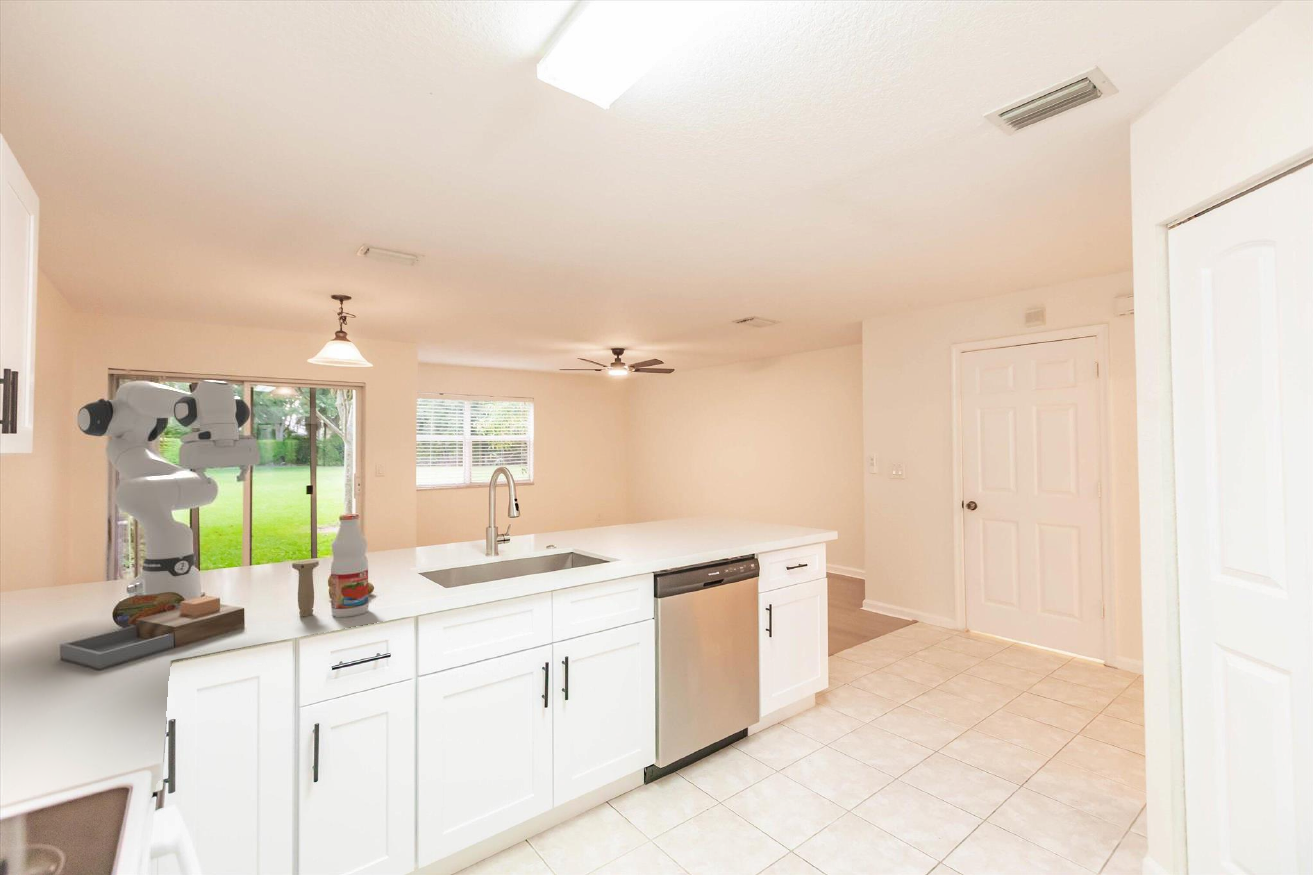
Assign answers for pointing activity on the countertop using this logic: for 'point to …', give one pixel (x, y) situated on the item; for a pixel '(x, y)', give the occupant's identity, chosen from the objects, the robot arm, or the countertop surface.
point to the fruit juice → (349, 569)
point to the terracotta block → (199, 605)
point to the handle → (305, 585)
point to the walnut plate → (190, 624)
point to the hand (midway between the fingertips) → (224, 482)
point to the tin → (144, 607)
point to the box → (113, 648)
